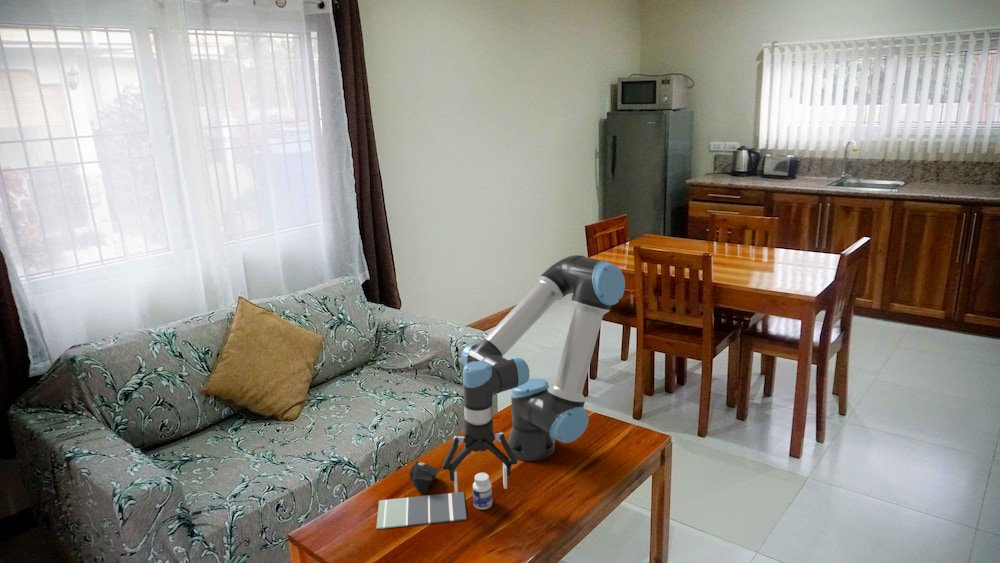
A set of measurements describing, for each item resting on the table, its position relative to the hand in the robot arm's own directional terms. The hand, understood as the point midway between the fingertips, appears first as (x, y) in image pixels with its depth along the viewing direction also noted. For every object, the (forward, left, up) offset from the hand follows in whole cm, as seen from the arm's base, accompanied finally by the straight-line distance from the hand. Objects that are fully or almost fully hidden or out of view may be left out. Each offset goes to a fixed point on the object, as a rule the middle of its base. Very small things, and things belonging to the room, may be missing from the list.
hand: (480, 488), depth 177 cm
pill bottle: (0, 0, -6) cm, 6 cm away
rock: (+15, -13, -6) cm, 21 cm away
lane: (+17, 0, -5) cm, 17 cm away
